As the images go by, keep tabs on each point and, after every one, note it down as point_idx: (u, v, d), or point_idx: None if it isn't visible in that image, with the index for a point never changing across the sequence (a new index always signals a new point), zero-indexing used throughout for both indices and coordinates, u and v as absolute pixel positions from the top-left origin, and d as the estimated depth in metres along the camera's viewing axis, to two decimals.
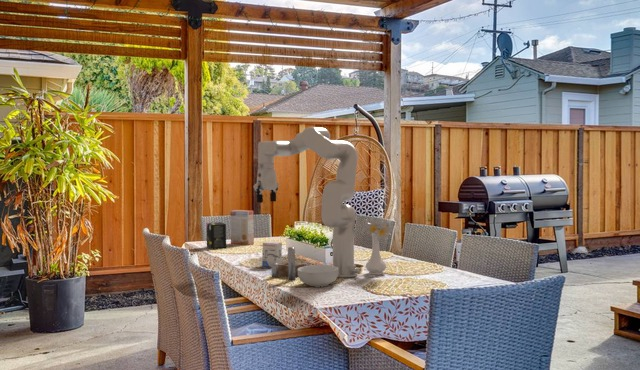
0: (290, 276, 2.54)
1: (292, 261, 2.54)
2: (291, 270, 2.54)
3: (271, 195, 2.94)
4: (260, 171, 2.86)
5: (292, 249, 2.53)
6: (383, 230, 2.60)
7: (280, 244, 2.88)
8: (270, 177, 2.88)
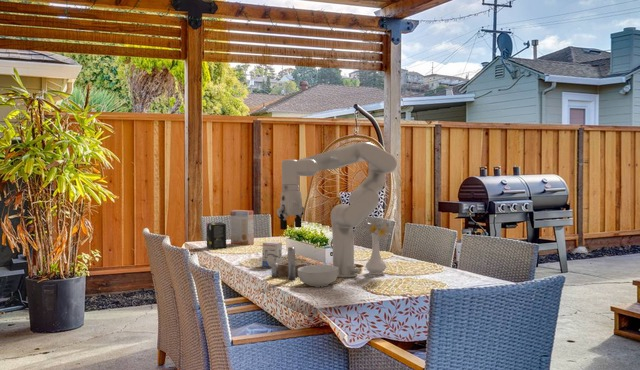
0: (290, 276, 2.54)
1: (292, 261, 2.54)
2: (291, 270, 2.54)
3: (296, 220, 2.58)
4: (284, 194, 2.50)
5: (292, 249, 2.53)
6: (383, 230, 2.60)
7: (280, 244, 2.88)
8: (295, 200, 2.52)
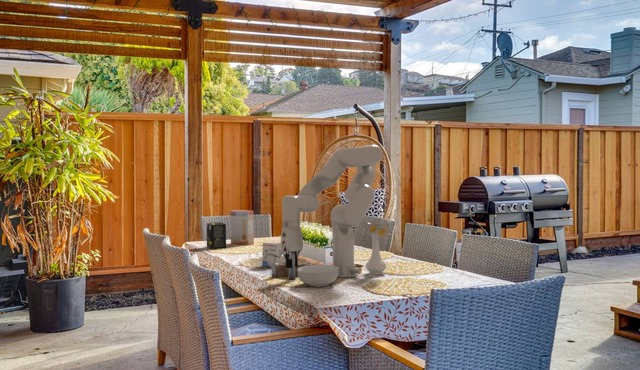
0: (290, 276, 2.54)
1: (292, 261, 2.54)
2: (291, 270, 2.54)
3: None
4: (285, 230, 2.51)
5: None
6: (383, 230, 2.60)
7: (280, 244, 2.88)
8: (296, 236, 2.53)
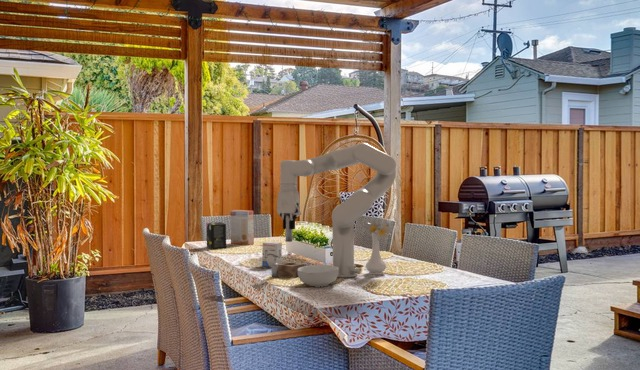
0: None
1: None
2: None
3: None
4: None
5: None
6: (383, 230, 2.60)
7: (280, 244, 2.88)
8: (284, 199, 2.63)
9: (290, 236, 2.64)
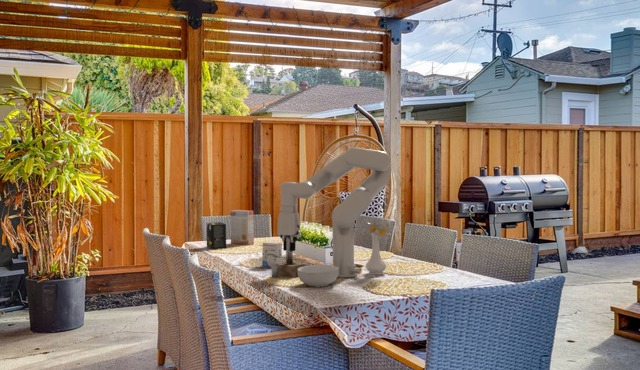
0: None
1: (286, 244, 2.65)
2: (286, 253, 2.66)
3: None
4: None
5: None
6: (383, 230, 2.60)
7: (280, 244, 2.88)
8: (285, 221, 2.63)
9: (291, 258, 2.65)
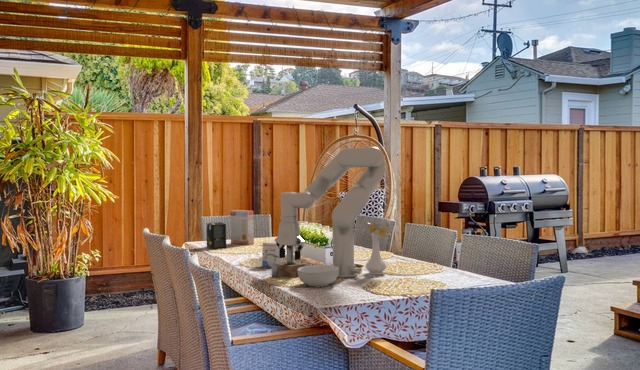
0: None
1: None
2: None
3: None
4: None
5: None
6: (383, 230, 2.60)
7: None
8: (285, 231, 2.63)
9: None
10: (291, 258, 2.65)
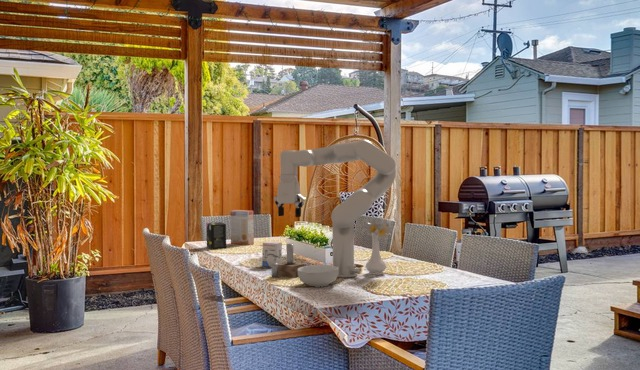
0: None
1: None
2: None
3: None
4: None
5: None
6: (383, 230, 2.60)
7: (280, 244, 2.88)
8: (285, 189, 2.63)
9: None
10: (291, 258, 2.65)
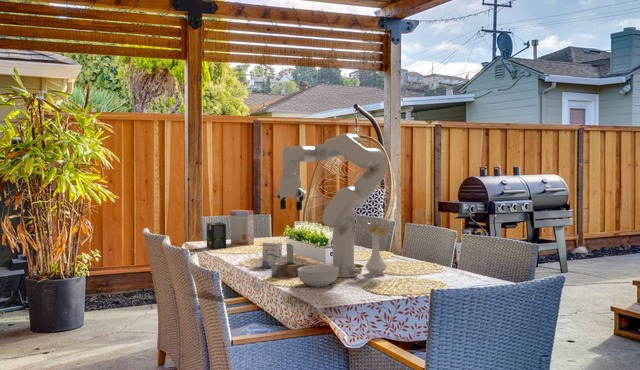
0: None
1: None
2: None
3: None
4: None
5: None
6: (383, 230, 2.60)
7: (280, 244, 2.88)
8: (286, 184, 2.76)
9: None
10: (291, 258, 2.65)
